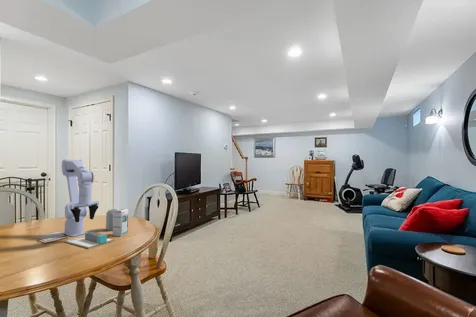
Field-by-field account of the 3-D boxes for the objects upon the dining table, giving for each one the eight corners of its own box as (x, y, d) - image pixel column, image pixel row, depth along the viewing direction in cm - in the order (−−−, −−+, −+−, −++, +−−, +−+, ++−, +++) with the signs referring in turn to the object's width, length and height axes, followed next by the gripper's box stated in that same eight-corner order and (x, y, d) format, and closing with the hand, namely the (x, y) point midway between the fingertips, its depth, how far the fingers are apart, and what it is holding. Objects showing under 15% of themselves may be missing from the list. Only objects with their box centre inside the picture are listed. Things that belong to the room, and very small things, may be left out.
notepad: (64, 242, 127) (64, 240, 127) (91, 235, 140) (91, 234, 140) (87, 248, 119) (88, 247, 119) (113, 240, 132) (113, 239, 132)
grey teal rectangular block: (84, 239, 130) (84, 232, 130) (91, 237, 133) (91, 231, 133) (100, 243, 124) (100, 236, 125) (106, 241, 128) (107, 234, 128)
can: (122, 228, 155) (122, 209, 155) (112, 231, 148) (113, 211, 148) (112, 227, 157) (113, 208, 158) (103, 230, 150) (103, 210, 151)
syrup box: (121, 236, 139) (122, 210, 139) (112, 235, 140) (112, 209, 140) (127, 233, 145) (128, 208, 145) (119, 232, 146) (119, 208, 146)
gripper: (75, 196, 124) (75, 224, 123) (102, 193, 137) (102, 218, 136) (67, 195, 127) (66, 222, 126) (94, 193, 140) (94, 217, 139)
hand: (84, 220), depth 132 cm, fingers open, 7 cm apart
